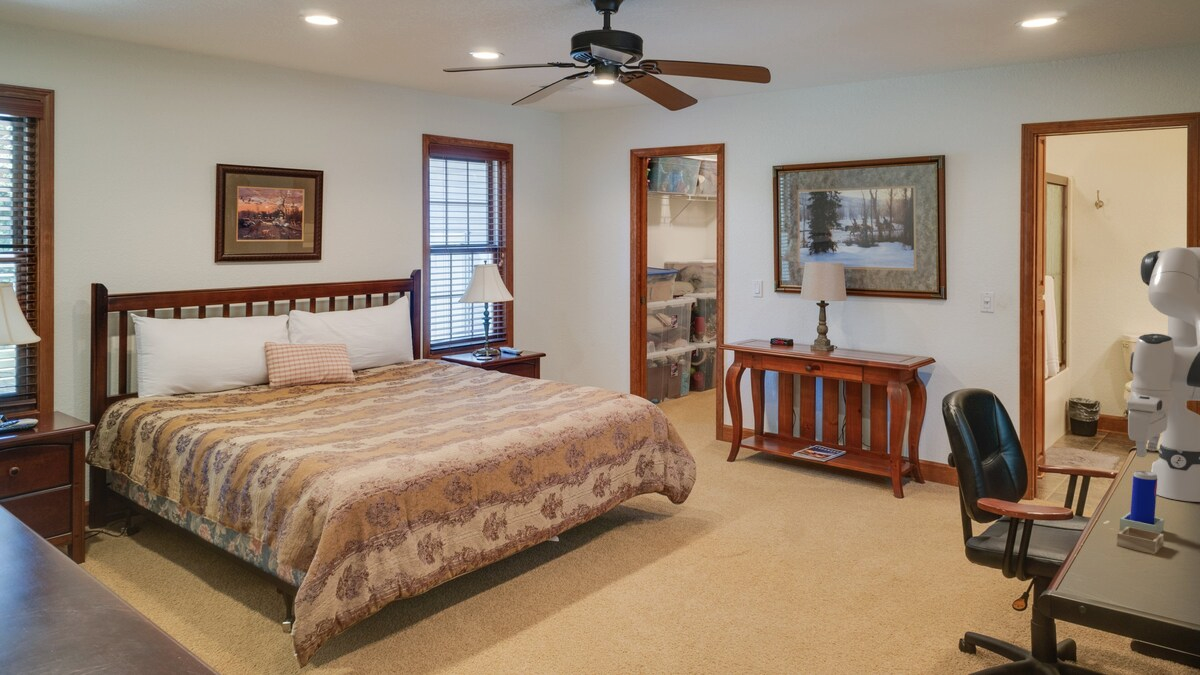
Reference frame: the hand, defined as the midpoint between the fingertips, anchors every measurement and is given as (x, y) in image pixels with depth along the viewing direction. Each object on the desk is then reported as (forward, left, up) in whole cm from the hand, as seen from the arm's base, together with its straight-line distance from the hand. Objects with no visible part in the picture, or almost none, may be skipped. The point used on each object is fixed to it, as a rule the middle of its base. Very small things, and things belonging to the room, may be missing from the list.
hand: (1147, 453), depth 212 cm
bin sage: (0, 0, -20) cm, 20 cm away
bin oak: (+13, +3, -20) cm, 24 cm away
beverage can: (0, 0, -20) cm, 20 cm away
